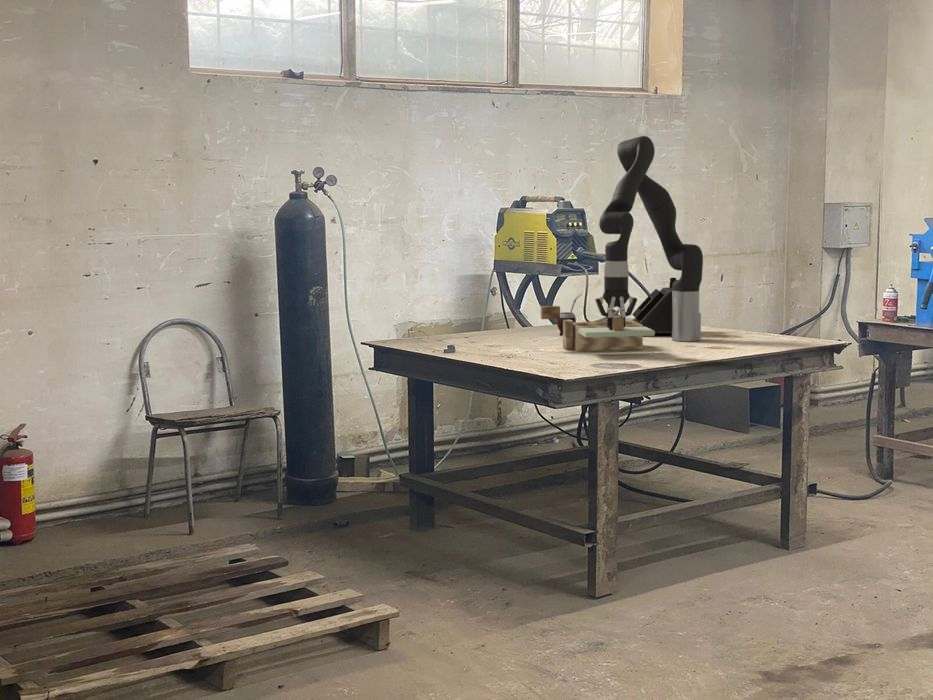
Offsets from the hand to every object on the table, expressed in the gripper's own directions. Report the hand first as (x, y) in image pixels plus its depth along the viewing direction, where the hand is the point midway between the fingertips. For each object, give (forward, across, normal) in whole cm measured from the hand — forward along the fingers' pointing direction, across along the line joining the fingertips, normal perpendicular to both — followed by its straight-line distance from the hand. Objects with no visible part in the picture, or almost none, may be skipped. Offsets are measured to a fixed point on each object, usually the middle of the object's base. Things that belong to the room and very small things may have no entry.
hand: (615, 329), depth 361 cm
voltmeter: (+8, -26, -49) cm, 56 cm away
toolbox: (+8, +1, -15) cm, 17 cm away
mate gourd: (+8, +6, -53) cm, 54 cm away
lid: (+2, 0, 0) cm, 2 cm away
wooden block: (-2, +19, -15) cm, 24 cm away
